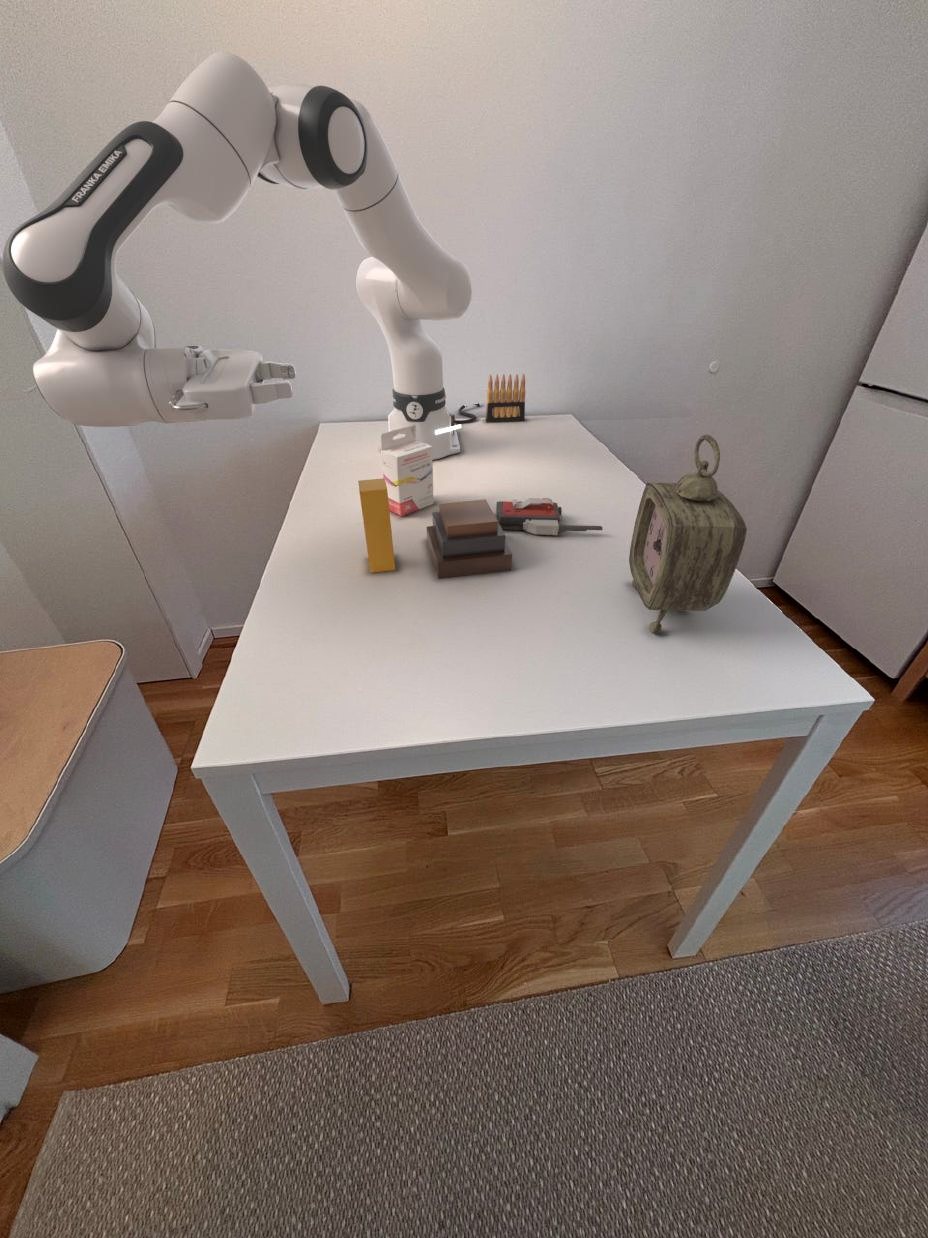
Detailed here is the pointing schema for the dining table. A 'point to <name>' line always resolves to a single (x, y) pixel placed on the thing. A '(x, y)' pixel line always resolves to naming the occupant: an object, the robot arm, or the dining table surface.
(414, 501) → the ink cartridge box
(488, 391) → the ammunition clip
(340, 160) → the robot arm
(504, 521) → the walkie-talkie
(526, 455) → the dining table surface
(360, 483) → the bar
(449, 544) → the stacked square slabs
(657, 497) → the tabletop clock
